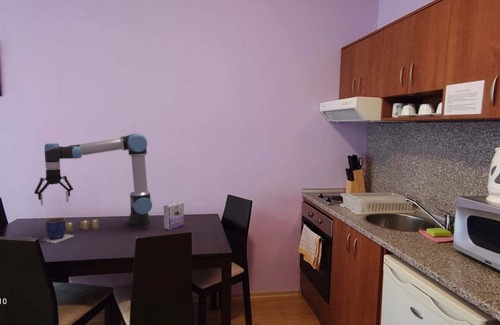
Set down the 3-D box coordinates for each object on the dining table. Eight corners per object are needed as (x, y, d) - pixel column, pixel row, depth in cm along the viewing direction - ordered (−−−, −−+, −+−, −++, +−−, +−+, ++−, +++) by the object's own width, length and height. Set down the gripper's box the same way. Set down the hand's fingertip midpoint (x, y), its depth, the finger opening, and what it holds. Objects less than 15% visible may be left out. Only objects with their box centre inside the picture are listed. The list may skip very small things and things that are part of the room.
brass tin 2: (89, 228, 218) (89, 220, 218) (84, 230, 215) (84, 221, 214) (84, 228, 220) (84, 219, 219) (80, 230, 216) (79, 221, 215)
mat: (74, 236, 203) (74, 235, 203) (54, 243, 190) (54, 242, 190) (57, 233, 208) (57, 233, 208) (37, 240, 195) (37, 239, 194)
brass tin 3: (99, 228, 221) (99, 219, 220) (95, 229, 217) (95, 221, 216) (95, 227, 222) (95, 219, 221) (90, 229, 218) (90, 220, 218)
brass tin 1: (74, 231, 214) (73, 222, 213) (69, 232, 210) (68, 223, 209) (69, 230, 215) (69, 221, 214) (64, 232, 211) (63, 223, 211)
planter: (69, 234, 205) (68, 217, 204) (62, 240, 194) (61, 222, 193) (50, 235, 203) (49, 217, 202) (42, 241, 193) (41, 222, 191)
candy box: (178, 224, 232) (178, 201, 231) (184, 225, 229) (184, 202, 227) (163, 228, 221) (163, 205, 219) (169, 230, 218) (169, 206, 216)
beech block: (89, 226, 224) (89, 220, 224) (86, 228, 220) (86, 222, 220) (83, 226, 224) (83, 220, 224) (80, 228, 220) (80, 222, 220)
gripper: (74, 166, 206) (75, 199, 208) (27, 169, 189) (29, 205, 191) (77, 167, 200) (79, 201, 202) (29, 171, 184) (31, 207, 186)
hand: (55, 203), depth 197 cm, fingers open, 13 cm apart
